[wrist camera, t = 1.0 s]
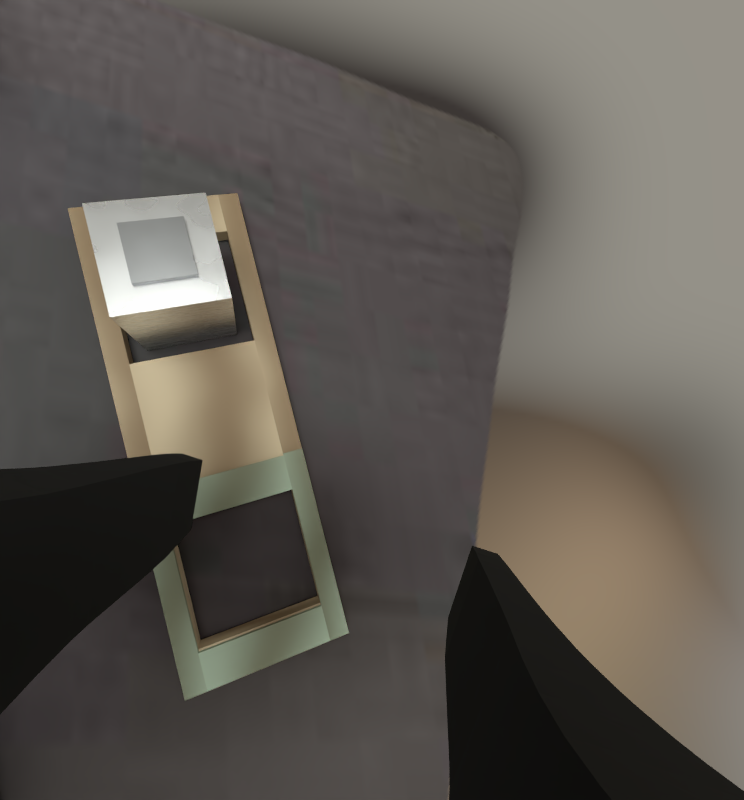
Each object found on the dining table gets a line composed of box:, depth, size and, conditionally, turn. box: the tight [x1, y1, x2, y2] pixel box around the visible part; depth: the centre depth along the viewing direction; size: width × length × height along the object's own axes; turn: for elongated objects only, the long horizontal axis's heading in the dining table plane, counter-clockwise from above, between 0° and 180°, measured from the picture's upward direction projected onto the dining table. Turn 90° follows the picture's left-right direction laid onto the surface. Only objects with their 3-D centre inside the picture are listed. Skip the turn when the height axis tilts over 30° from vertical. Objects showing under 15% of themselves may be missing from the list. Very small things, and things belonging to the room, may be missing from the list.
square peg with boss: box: [82, 193, 237, 351], centre depth 19 cm, size 4×4×6 cm
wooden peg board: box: [68, 193, 349, 701], centre depth 21 cm, size 8×24×1 cm, turn 15°
